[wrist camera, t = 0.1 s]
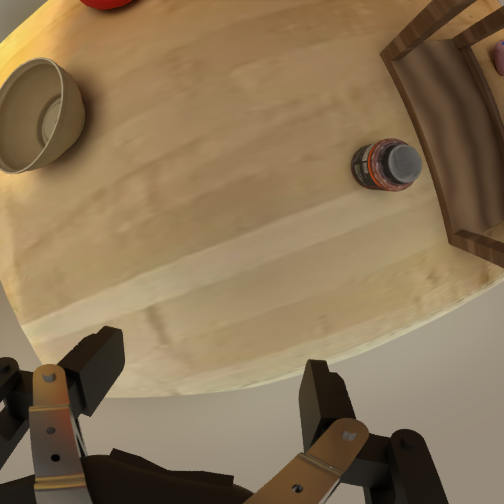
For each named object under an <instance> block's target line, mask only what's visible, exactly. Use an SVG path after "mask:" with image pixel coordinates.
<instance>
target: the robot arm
mask: <svg viewBox="0 0 504 504" xmlns="http://www.w3.org/2000/svg"><path fill="white" fill-rule="evenodd" d="M124 364H125V354H124V343H123V333H122V330H121V329H118V328H114V327H109V326H104V327H103V328H102V329H101V330H100V331H99V332H98V333H97V334H94V333H93V334H91V335H89V336H87V337H85V338H83V339H82V340H81V341H80V342H79V343H78V345H76V346H75V347H74V348H73V350H71V351H70V352H69V353H68V354H67V355H66V356H65V357H64V358H63V359H62V360H61V361H60V362H59V363H58V364H57V365H54V364H46V365H42V366H40V367H38V368H37V369H36V370H35V371H34V372H29V371H22V370H20V369H19V365H18V363H17V361H16V360H15V359H13V358H10V357H3V358H0V402H1V401H2V400H3V402H4V405H5V407H4V408H3V410H2V411H1V412H0V470H1V468H2V467H3V465H4V464H5V462H6V461H7V459H8V458H9V456H10V455H11V453H12V452H13V450H14V449H15V447H16V446H17V444H18V443H19V442H20V440H21V439H22V437H23V436H24V434H25V433H26V432H27V430H28V429H29V428H30V438H31V449H32V457H33V465H34V472H35V474H34V475H30V476H27V477H24V478H21V479H17V480H14V481H10V482H7V483H3V484H0V504H325V503H326V502H327V500H328V499H329V498H330V497H331V496H332V494H333V493H334V492H335V490H336V489H337V488H338V487H339V485H340V484H341V483H346V484H351V485H357V486H362V487H363V490H364V496H365V502H366V504H449V503H448V500H447V497H446V495H445V492H444V489H443V486H442V484H441V481H440V478H439V476H438V473H437V470H436V468H435V465H434V463H433V460H432V457H431V455H430V452H429V450H428V448H427V445H426V443H425V440H424V438H423V437H422V436H421V435H420V434H419V433H417V432H415V431H413V430H409V429H400V430H397V431H395V432H394V433H393V434H392V436H391V438H389V437H384V436H379V435H374V434H371V433H369V431H368V428H367V427H366V426H365V425H364V424H363V423H362V422H360V421H358V420H356V417H355V414H354V411H353V407H352V404H351V401H350V398H349V397H348V392H347V390H346V386H345V383H344V380H343V379H342V378H341V377H340V376H339V375H338V374H337V373H333V372H329V369H328V365H327V362H326V361H325V360H311V359H308V361H307V363H306V367H305V371H304V375H303V379H302V382H301V386H300V390H299V407H300V417H301V427H302V436H303V446H304V453H302V452H301V453H299V454H298V455H297V456H296V457H295V458H294V459H293V460H292V461H290V463H288V464H287V465H286V466H285V467H284V468H283V469H282V470H281V471H280V472H279V473H278V474H277V475H275V476H274V477H273V478H272V479H271V480H270V481H269V482H268V483H266V484H265V485H264V486H263V487H262V488H261V489H260V490H258V491H257V492H256V493H255V494H254V493H253V492H251V491H249V490H247V489H246V488H243V487H241V486H239V485H236V484H233V479H234V476H232V475H224V474H218V473H211V472H205V471H170V470H166V469H164V468H162V467H160V466H158V465H156V464H154V463H152V462H150V461H148V460H146V459H144V458H142V457H140V456H137V455H133V454H130V453H127V452H124V451H121V450H118V449H115V448H113V450H112V451H111V453H110V455H91V456H88V454H87V451H86V447H85V443H84V439H83V435H82V432H81V427H80V423H79V420H78V417H79V415H80V414H81V413H82V414H84V415H87V416H89V417H91V416H92V414H93V413H94V411H95V410H96V408H97V407H98V405H99V404H100V402H101V401H102V399H103V398H104V397H105V395H106V394H107V392H108V391H109V389H110V388H111V386H112V385H113V384H114V382H115V381H116V379H117V378H118V376H119V375H120V374H121V372H122V370H123V368H124Z"/></svg>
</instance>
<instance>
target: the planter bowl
mask: <svg viewBox="0 0 504 504" xmlns="http://www.w3.org/2000/svg"><path fill="white" fill-rule="evenodd" d="M84 123H85V108H84V104H83V102H82V98H81V94H80V91H79V88H78V86H77V84H76V83H75V81H74V80H73V78H72V77H71V76H70V75H69V74H68V73H67V72H66V71H65V70H64V69H63V68H61V67H60V66H58V65H57V64H56V63H55V62H54V61H52V60H50V59H48V58H43V57H40V58H34V59H31V60H29V61H27V62H25V63H23V64H22V65H20V66H19V67H18V68H16V69H15V70H14V71H13V72H12V73H11V74H10V76H9V77H8V78H7V79H6V81H5V82H4V83H3V85H2V86H1V88H0V170H1V171H2V172H4V173H7V174H18V173H22V172H25V171H30V170H35V169H38V168H41V167H43V166H45V165H47V164H49V163H51V162H52V161H54V160H55V159H57V158H58V157H59V156H60V155H62V154H63V153H64V152H65V151H66V150H67V149H68V148H70V147H71V146H72V145H73V144H74V143H75V142H76V141H77V139H78V138H79V136H80V134H81V132H82V130H83V127H84Z"/></svg>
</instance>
